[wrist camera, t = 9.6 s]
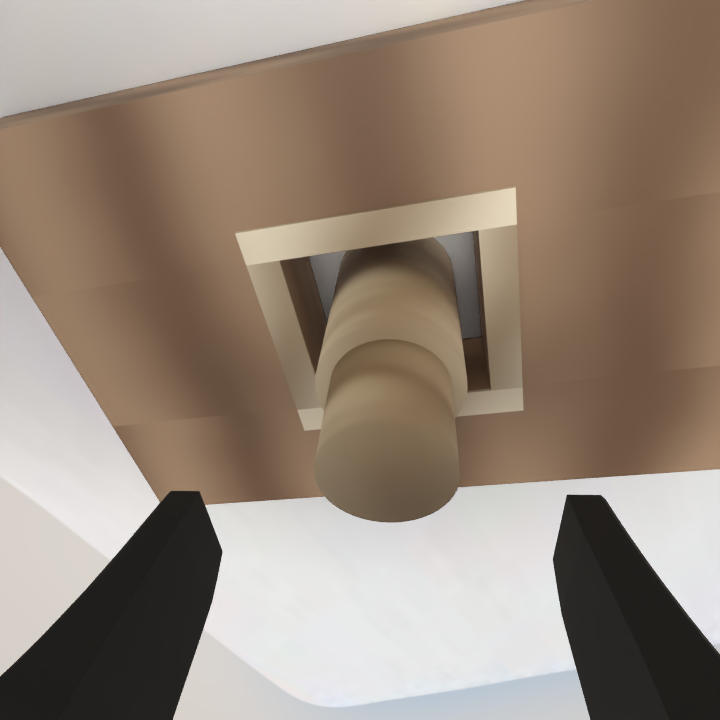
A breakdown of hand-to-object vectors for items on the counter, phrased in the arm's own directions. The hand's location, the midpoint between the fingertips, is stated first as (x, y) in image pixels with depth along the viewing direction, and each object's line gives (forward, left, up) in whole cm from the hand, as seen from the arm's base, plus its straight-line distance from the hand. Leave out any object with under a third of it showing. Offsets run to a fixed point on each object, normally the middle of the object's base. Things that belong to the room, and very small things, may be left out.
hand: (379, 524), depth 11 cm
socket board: (0, 0, -10) cm, 10 cm away
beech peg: (0, 0, -10) cm, 10 cm away
